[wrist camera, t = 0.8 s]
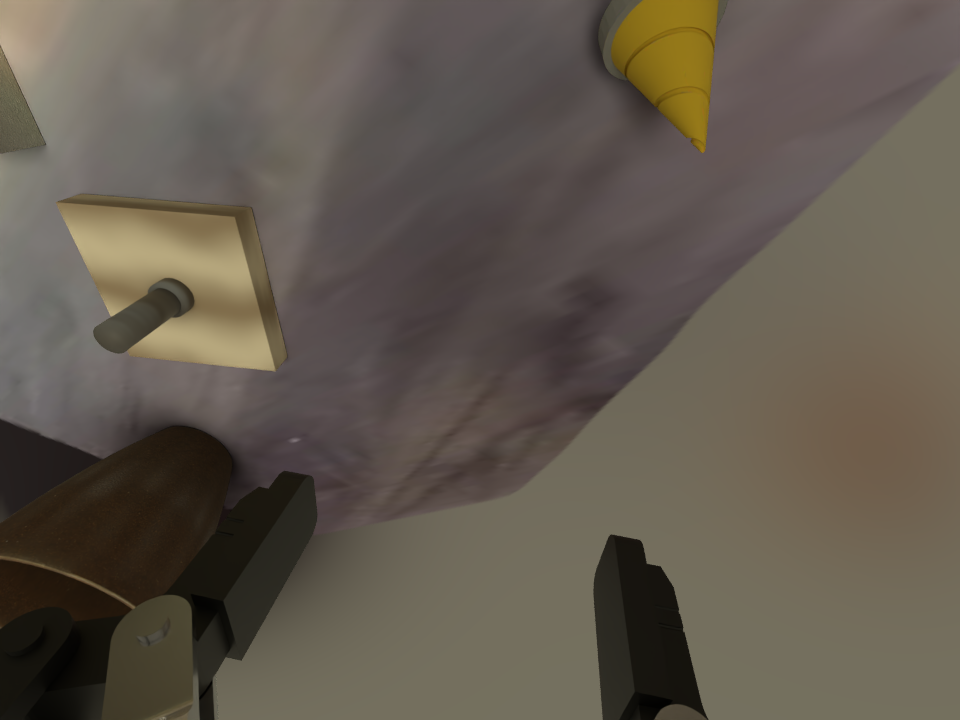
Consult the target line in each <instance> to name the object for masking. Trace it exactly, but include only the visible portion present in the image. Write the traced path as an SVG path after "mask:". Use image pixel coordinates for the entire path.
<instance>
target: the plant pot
mask: <svg viewBox="0 0 960 720" xmlns="http://www.w3.org/2000/svg"><path fill="white" fill-rule="evenodd" d="M231 471H232V459H231V457H230V455H229V453H228V451H227V450H226V449H225V448H224V446H223V445H222V444H221V443H220V442H218V441H217V440H216V439H214V438H213V437H212V436H210V435H208V434H206V433H204V432H202V431H199V430H196V429H193V428H189V427H182V426H176V427H170V428H167V429H164V430H162V431H160V432H157V433H155V434H153V435H151V436H149V437H147V438H144V439H142V440H140V441H138V442H136V443H134V444H131V445H129V446H127V447H126V448H124V449H122V450H120V451H118V452H116V453H114V454H112V455H110V456H108V457H106V458H105V459H103V460H101V461H99V462H97V463H96V464H94V465H92V466H90V467H89V468H87V469H85V470H83V471H82V472H80V473H78V474H76V475H75V476H73V477H72V478H70V479H68V480H67V481H65V482H63V483H62V484H60V485H58V486H56V487H55V488H53V489H52V490H50V491H49V492H47V493H45V494H44V495H42V496H40V497H39V498H37V499H36V500H34V501H33V502H31V503H30V504H28V505H27V506H25V507H24V508H22V509H21V510H19V511H18V512H16V513H15V514H13V515H12V516H10V517H9V518H7V519H6V520H5V521H3V522H2V523H0V629H1V628H2V627H3V626H5V625H6V624H8V623H9V622H11V621H12V620H14V619H15V618H17V617H19V616H21V615H23V614H25V613H28V612H30V611H33V610H36V609H40V608H44V607H60V608H63V609H65V610H67V611H68V612H69V613H70V614H71V616H72V618H73V619H74V621H81V620H90V619H98V618H106V617H114V616H121V615H126V614H128V613H129V612H130V611H131V610H133V609H134V608H135V607H137V606H138V605H140V604H142V603H143V602H145V601H147V600H150V599H152V598H155V597H159V596H162V595H163V594H164V593H165V592H167V591H168V589H169V588H170V587H171V586H172V585H173V584H174V582H175V581H176V580H177V579H178V577H179V576H180V575H181V574H182V572H183V571H184V570H185V569H186V567H187V566H188V565H189V563H190V562H191V561H192V560H193V558H194V557H195V556H196V555H197V553H198V552H199V551H200V550H201V548H202V547H203V546H204V545H205V543H206V542H207V541H208V540H209V538H210V537H211V536H212V535H213V534H215V531H216V528H217V525H218V522H219V519H220V516H221V512H222V509H223V505H224V501H225V498H226V494H227V489H228V485H229V481H230V476H231Z"/></svg>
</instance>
